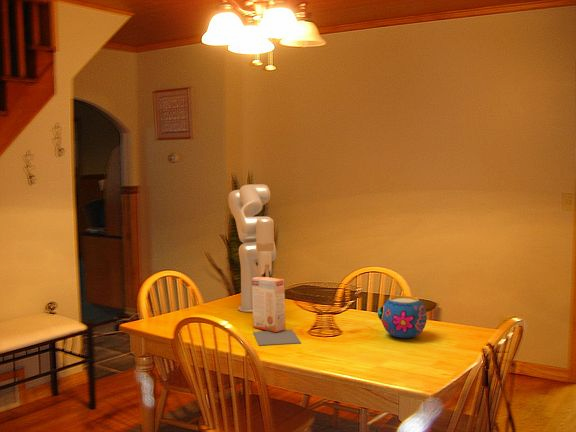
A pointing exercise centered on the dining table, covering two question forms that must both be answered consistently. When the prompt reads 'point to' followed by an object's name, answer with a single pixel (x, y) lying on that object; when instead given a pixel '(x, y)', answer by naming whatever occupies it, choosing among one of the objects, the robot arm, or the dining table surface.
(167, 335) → the dining table surface
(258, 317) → the cracker box
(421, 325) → the ceramic pot
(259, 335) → the mat
